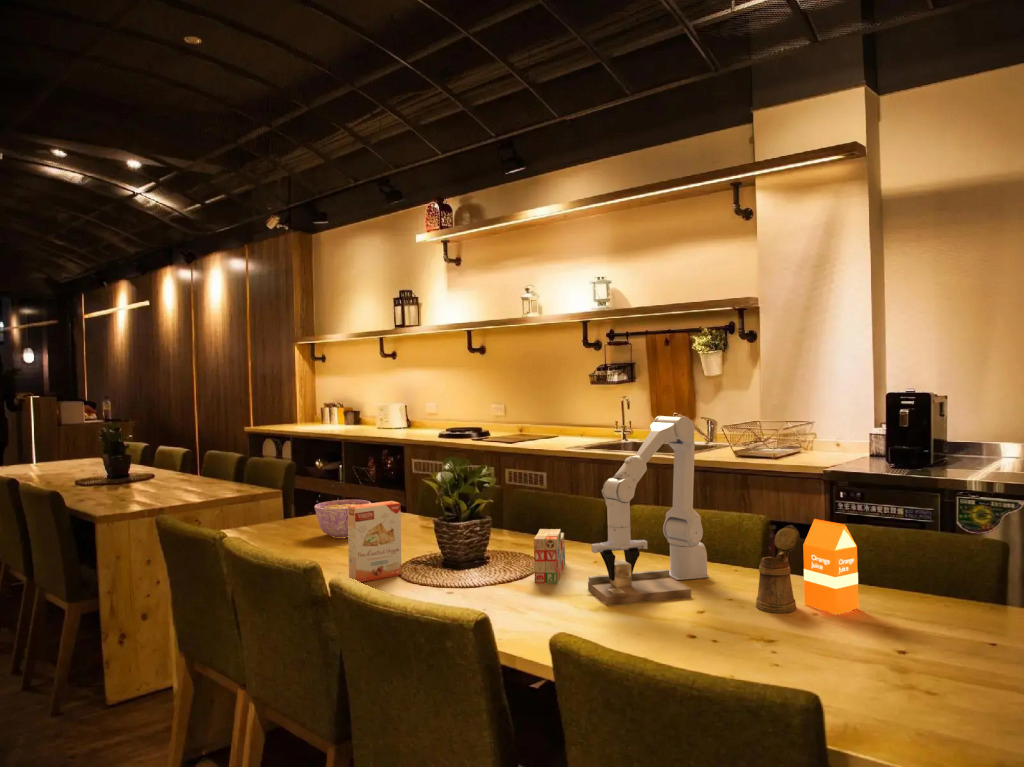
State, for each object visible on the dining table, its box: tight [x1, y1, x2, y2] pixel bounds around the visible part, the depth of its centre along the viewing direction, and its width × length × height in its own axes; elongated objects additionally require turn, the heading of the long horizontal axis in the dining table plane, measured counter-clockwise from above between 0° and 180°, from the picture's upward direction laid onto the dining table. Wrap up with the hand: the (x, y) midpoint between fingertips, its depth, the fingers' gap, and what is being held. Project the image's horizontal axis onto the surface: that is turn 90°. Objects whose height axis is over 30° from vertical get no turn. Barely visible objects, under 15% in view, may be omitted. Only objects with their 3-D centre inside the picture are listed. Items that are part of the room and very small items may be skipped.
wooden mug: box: [755, 524, 801, 614], centre depth 172 cm, size 9×14×18 cm, turn 133°
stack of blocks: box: [533, 528, 566, 584], centre depth 206 cm, size 21×6×12 cm, turn 170°
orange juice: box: [802, 518, 859, 614], centre depth 169 cm, size 8×9×20 cm
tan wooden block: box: [610, 559, 632, 587], centre depth 185 cm, size 4×5×6 cm
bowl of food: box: [314, 499, 372, 537], centre depth 263 cm, size 20×20×12 cm
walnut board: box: [587, 569, 692, 606], centre depth 184 cm, size 22×14×4 cm, turn 103°
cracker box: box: [347, 500, 402, 583], centre depth 205 cm, size 14×6×21 cm, turn 125°
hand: (620, 578), depth 185 cm, fingers closed on tan wooden block, 4 cm apart
